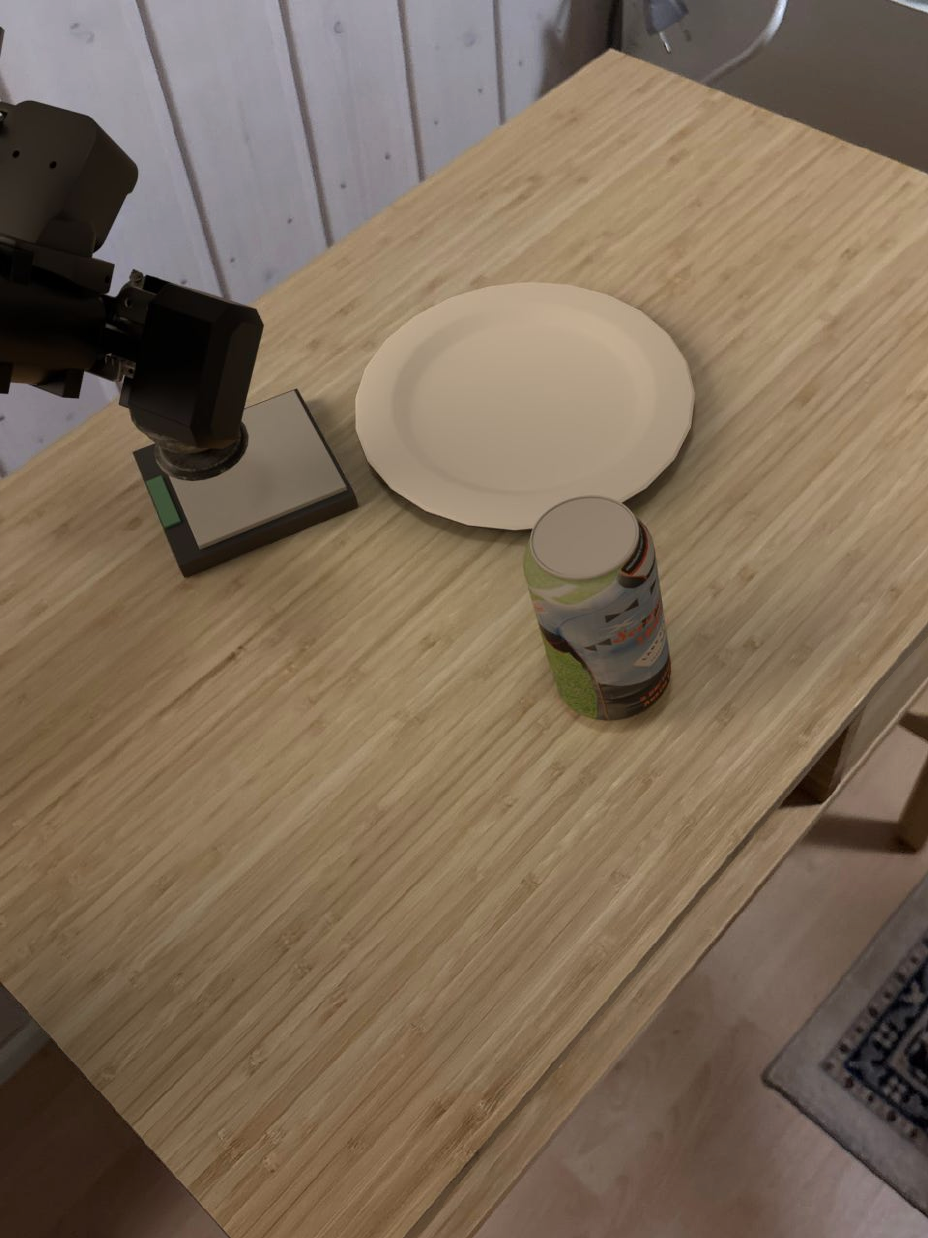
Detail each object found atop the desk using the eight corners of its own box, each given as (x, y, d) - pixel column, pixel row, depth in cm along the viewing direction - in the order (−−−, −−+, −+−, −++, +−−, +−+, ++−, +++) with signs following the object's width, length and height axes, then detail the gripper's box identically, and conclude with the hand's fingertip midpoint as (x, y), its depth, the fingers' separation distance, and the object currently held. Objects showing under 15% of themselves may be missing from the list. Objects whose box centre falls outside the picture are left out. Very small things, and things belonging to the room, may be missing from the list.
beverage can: (652, 746, 58) (665, 613, 48) (514, 708, 60) (500, 573, 50) (683, 646, 61) (702, 502, 51) (551, 612, 63) (545, 467, 53)
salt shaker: (168, 500, 62) (90, 328, 52) (136, 431, 65) (57, 256, 55) (269, 458, 63) (212, 282, 53) (233, 393, 66) (173, 214, 56)
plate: (761, 457, 68) (765, 437, 66) (445, 599, 64) (442, 582, 63) (587, 260, 79) (587, 239, 77) (308, 372, 75) (303, 352, 74)
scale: (184, 578, 66) (176, 562, 65) (138, 464, 72) (129, 447, 71) (358, 507, 68) (354, 489, 67) (300, 401, 74) (295, 383, 72)
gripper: (170, 142, 40) (378, 224, 54) (-199, 39, 46) (75, 138, 60) (105, 451, 43) (319, 452, 57) (-235, 316, 49) (35, 348, 63)
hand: (183, 339), depth 59 cm, fingers closed on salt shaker, 3 cm apart
